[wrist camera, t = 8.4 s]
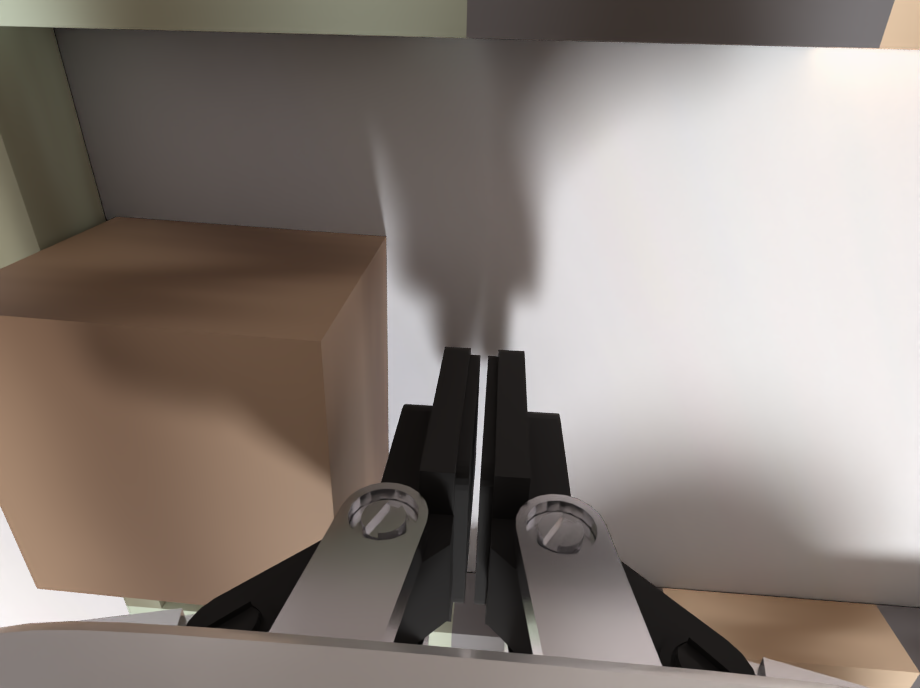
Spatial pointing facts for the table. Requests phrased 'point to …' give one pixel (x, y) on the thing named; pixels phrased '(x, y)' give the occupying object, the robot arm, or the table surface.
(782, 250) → the table surface
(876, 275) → the table surface
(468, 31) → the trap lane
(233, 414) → the walnut block
